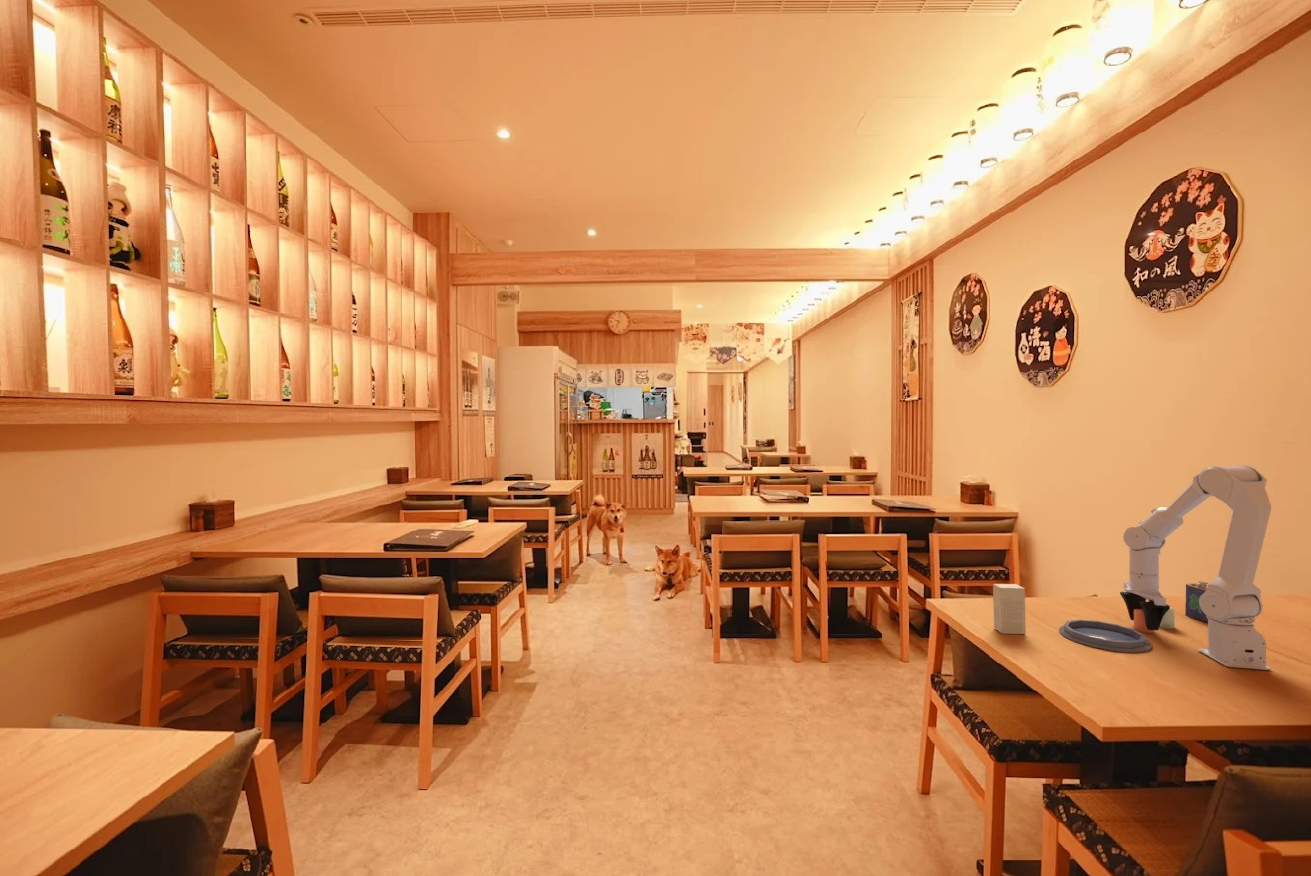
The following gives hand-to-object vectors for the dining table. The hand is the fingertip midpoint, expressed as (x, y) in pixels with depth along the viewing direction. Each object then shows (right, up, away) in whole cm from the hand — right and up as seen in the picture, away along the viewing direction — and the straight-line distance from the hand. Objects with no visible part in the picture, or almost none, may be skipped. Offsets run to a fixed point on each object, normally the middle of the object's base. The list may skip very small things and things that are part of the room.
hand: (1143, 624), depth 144 cm
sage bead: (+8, -1, +3) cm, 9 cm away
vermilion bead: (0, -2, 0) cm, 2 cm away
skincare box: (-35, -2, 0) cm, 35 cm away
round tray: (-15, -2, -5) cm, 16 cm away
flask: (+23, -1, +7) cm, 24 cm away
